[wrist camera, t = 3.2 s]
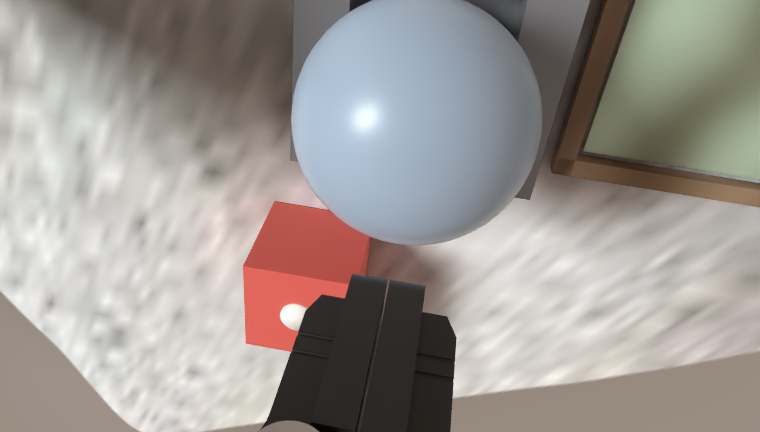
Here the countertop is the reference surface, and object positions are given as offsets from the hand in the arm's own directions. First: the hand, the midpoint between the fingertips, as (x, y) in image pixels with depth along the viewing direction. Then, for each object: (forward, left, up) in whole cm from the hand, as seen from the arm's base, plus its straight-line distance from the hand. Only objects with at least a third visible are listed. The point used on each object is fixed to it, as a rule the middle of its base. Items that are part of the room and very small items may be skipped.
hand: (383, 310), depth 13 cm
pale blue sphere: (0, 0, -13) cm, 13 cm away
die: (-4, -12, -16) cm, 20 cm away
